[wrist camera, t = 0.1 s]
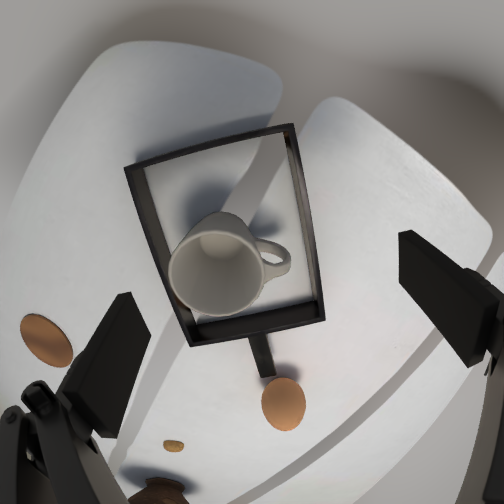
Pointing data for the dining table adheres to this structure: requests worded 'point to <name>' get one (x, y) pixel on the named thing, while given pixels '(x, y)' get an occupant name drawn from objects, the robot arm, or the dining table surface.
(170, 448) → the potato
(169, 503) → the vase
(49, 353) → the coaster
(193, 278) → the cup
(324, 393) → the dining table surface
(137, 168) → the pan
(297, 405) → the egg
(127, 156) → the dining table surface
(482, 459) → the robot arm
